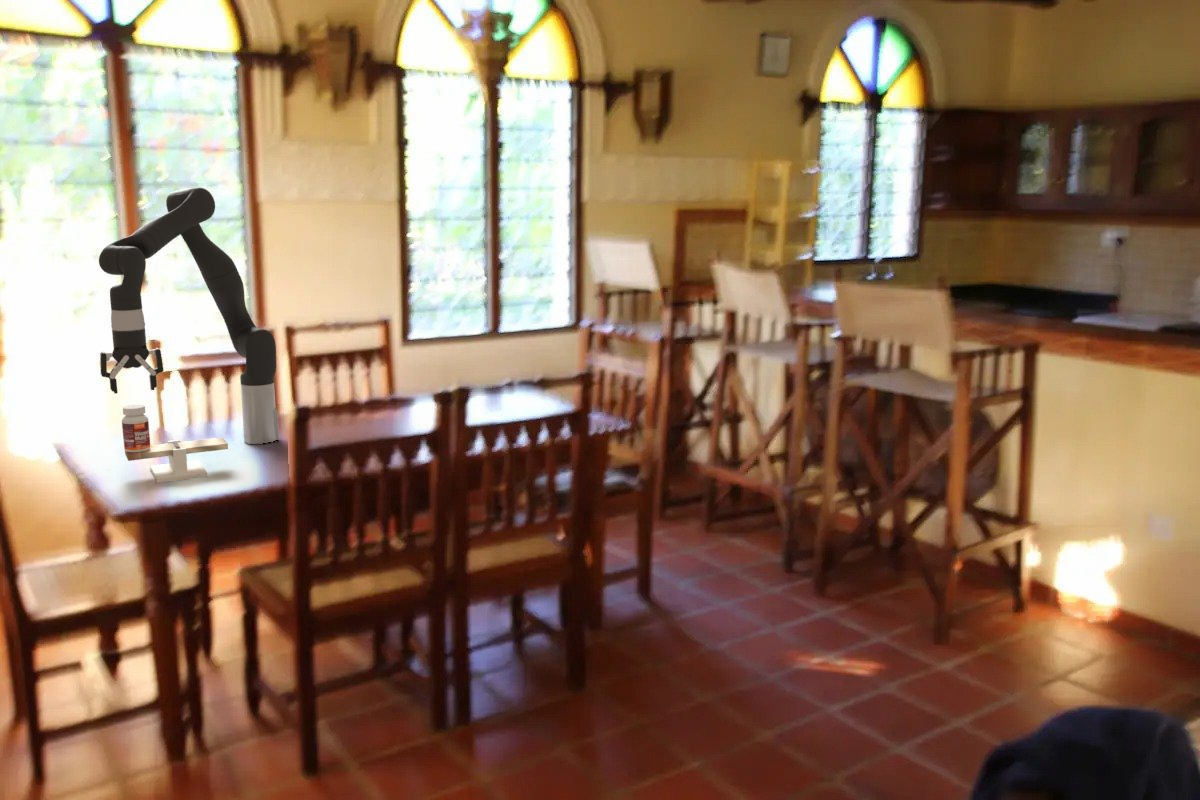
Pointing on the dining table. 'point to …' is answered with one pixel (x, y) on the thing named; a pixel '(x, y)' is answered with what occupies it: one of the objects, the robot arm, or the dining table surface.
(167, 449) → the board
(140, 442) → the pill bottle
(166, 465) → the pivot stand
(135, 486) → the dining table surface
